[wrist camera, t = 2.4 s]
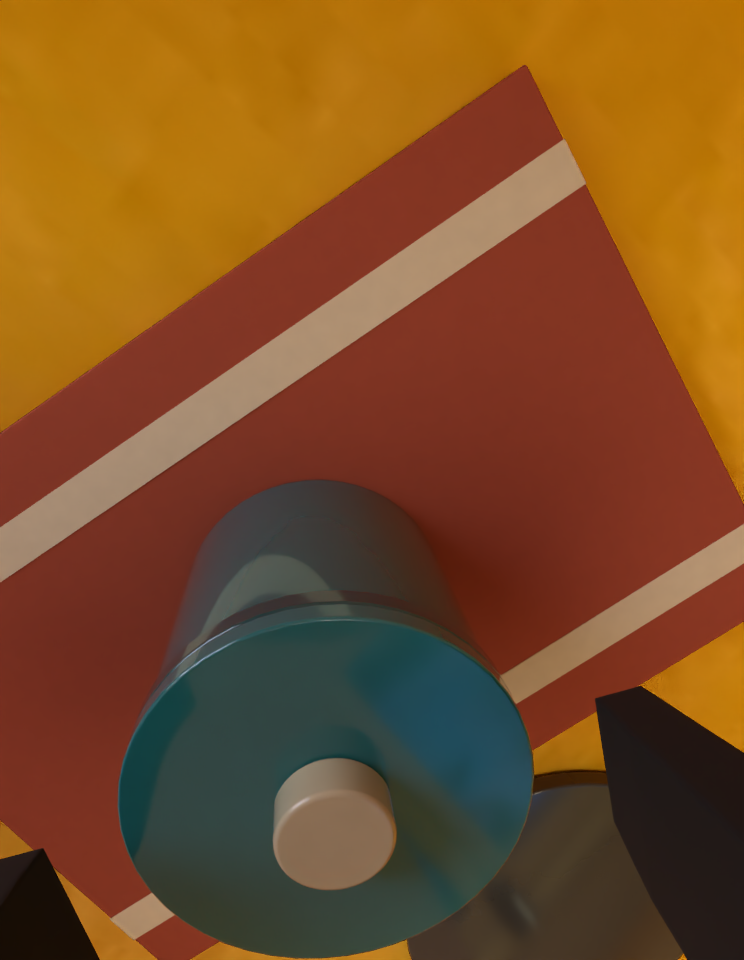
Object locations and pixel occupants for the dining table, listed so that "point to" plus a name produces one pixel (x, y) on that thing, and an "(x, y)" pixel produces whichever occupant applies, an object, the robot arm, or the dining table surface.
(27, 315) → the dining table surface
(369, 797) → the pot
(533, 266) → the tea towel
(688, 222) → the dining table surface
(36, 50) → the dining table surface
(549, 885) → the polished metal trivet
